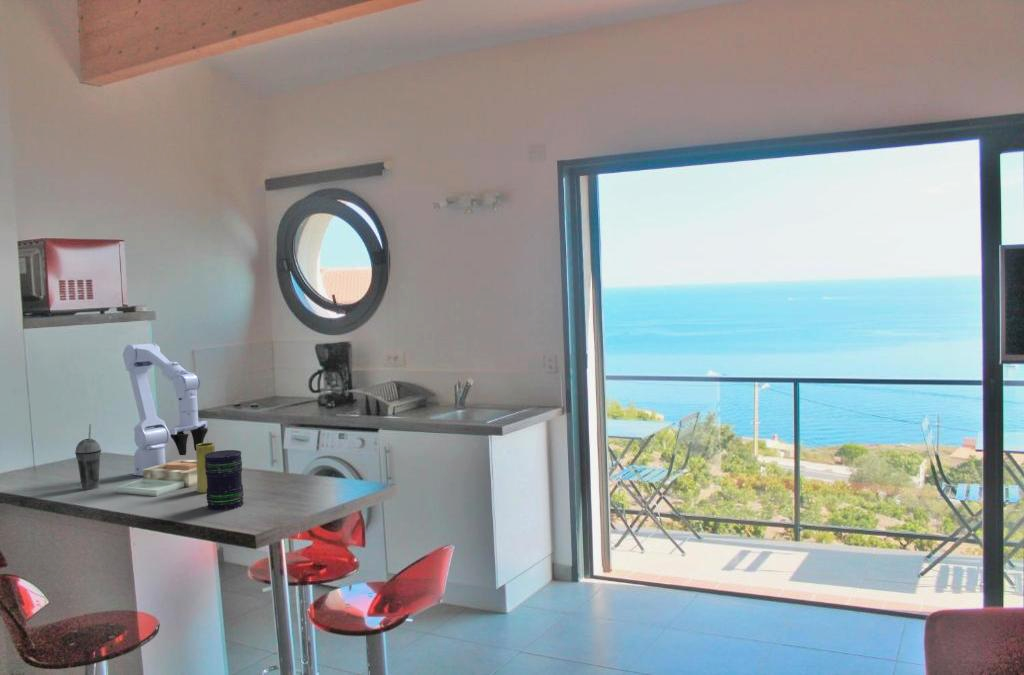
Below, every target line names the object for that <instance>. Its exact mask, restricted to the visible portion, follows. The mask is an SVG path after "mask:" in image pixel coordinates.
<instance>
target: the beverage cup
mask: <svg viewBox="0 0 1024 675" xmlns="http://www.w3.org/2000/svg"><path fill="white" fill-rule="evenodd" d="M91 432H92V424H89V425H88V438H86V439H85V438H84V439H82V440H80V441H79V442H78V443H77V445H76V447H75V453H74V454H75V456H76V461H77V466H78V471H79V472H78V473H79V477H80V478H79V479H80V485H81V489H82V490H84V491H88V490H95V489H98V488H99V482H100V461H101V452H102V449H101V446H100V444H99V442H98V441H97V440H96V439H93V438H91V434H92V433H91Z"/></svg>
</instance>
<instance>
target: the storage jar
mask: <svg viewBox="0 0 1024 675" xmlns="http://www.w3.org/2000/svg"><path fill="white" fill-rule="evenodd" d="M205 459H206V460H205V469H206V472H205V473H206V476H207V489H206V490H207V493H206V495H205V496H206V500H207V501H206V503H207V508H206V509H207V510H209V511H214V512H219V511H220V512H222V510H225V511H231V510H236V509H238V507H239V508H241V507H243V506H244V505H243V504H245V503H244V493H245V492H244V485H243V480H242V479H243V478H242V472H243V466H242V465H243V461H242V451H240V450H236V449H235V450H233V449H228V450H227V449H226V450H225V449H224V450H217V451H215V452H211V453H207V454H205ZM242 505H243V506H242ZM235 508H236V509H235ZM230 509H231V510H230Z"/></svg>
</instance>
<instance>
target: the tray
mask: <svg viewBox="0 0 1024 675" xmlns="http://www.w3.org/2000/svg"><path fill="white" fill-rule="evenodd" d="M183 488H185V487H184V482H183V481H170V480H157V479H143V478H141V479H139V480H138V479H137V480H134V481H131V482H128V483H124V484H121V485H118V486H115V492H116V494H127V495H140V496H141V495H142V496H150V497H159V496H162V495H164V494H165V495H166V494H168V493H170V492H174V491H177V490H181V489H183Z"/></svg>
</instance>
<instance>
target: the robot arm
mask: <svg viewBox="0 0 1024 675" xmlns="http://www.w3.org/2000/svg"><path fill="white" fill-rule="evenodd" d="M122 358H123V362H124V366H125V370H126V371H127V372H128V374H129V380H130V382H131V387H132V392H133V396H134V400H135V404H136V408H137V412H138V413H137V414H138V417H139V422H138V423H137V424H136V425H135V426H134V428H133V431H134V443H135V445H136V447H137V449H136V450H135V452H134V453H133V459H134V460H133V461H134V462H133V463H134V473H133V474H132V475H133V476H142V477H143V469H147V468H150V467H154V466H158V465H161V464H165V463H167V461H166V448H165V447H167V444H168V443H169V442H170V439H172V440H173V442H174V444H175V446H176V449H177V452H178V454H179V456H186V455H187V444H188V437H189V435H190V434H189V433H185V432H190V433H191V436H192V440H193V446H194V447H193V449H194V451H195V452H196V445H197V444H201V443H204V440H205V437H206V435H207V433H208V431H209V429H208V421H207V420H200V421H199V408H198V407H199V405H198V390H199V389H200V387H201V378H200V376H199V375H198V373H196V372H189V371H187V370H186V369H185V368H183V367H182V366H181V365H180V364H179V362H178V361H170V360H169V359H168V358H167V357H166V356H165V355H164V354H163V353H162V352H161V347H160V346H158V344H156V343H155V342H150V343H139V344H127V345H126V346H125V347H124V350H123V352H122ZM153 366H156V367H157V368H158V369H160V370H162V372H161V374H162V376H163V377H165V379H166V380H168V381H169V382H171V383H172V386H173V389H174V392H175V397H176V398H177V403H178V405H177V406H178V422H179V424H177V425H175V426H173V427H169V429H168V427H167V425H166V422H165V421H164V420H163V419H161V418H160V417H158V416H157V411H156V407H155V403H154V399H153V394H152V390H151V386H150V382H149V378H148V374H147V372H148V370H150V369H152V367H153Z"/></svg>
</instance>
